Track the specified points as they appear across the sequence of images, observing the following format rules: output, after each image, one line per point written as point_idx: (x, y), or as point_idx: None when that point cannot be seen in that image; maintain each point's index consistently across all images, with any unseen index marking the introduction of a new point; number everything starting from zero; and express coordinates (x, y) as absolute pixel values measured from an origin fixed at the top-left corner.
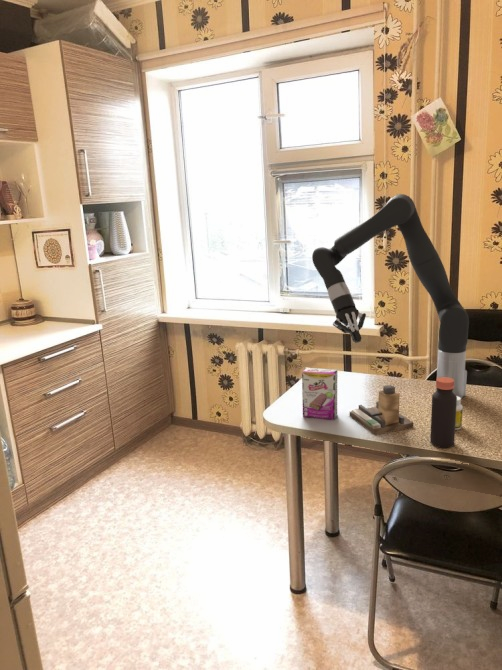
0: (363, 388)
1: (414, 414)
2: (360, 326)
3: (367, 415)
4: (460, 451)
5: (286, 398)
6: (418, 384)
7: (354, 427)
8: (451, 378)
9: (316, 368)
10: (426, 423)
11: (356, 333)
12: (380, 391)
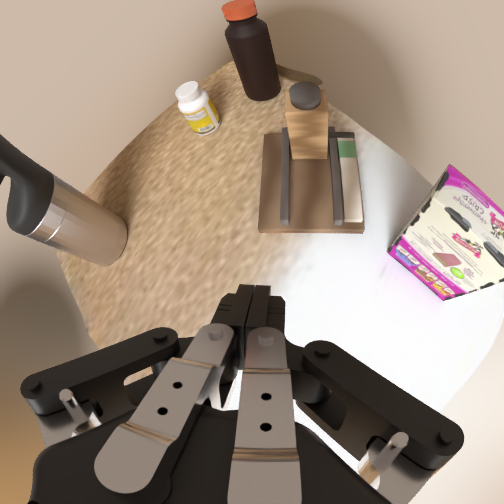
0: None
1: (224, 184)
2: (166, 337)
3: (342, 177)
4: None
5: (442, 401)
6: (110, 322)
7: (376, 178)
8: (222, 6)
9: (492, 244)
10: (234, 145)
11: (246, 314)
12: (324, 109)
